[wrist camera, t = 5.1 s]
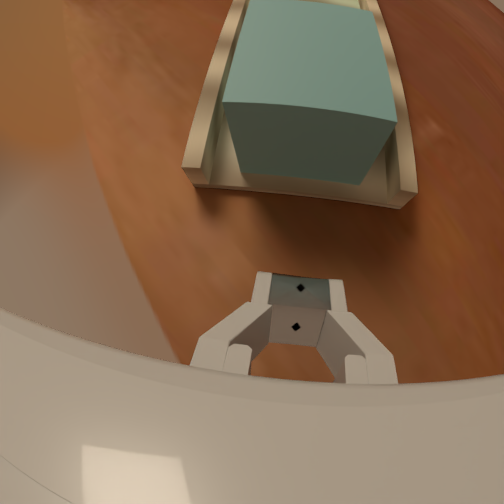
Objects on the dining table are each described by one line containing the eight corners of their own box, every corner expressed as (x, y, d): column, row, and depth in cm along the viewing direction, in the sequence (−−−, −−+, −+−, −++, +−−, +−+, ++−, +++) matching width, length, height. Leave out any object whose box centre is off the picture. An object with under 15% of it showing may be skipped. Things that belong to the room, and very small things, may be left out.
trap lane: (399, 209, 19) (417, 193, 16) (194, 186, 20) (181, 167, 17) (356, -25, 26) (358, -41, 23) (256, -34, 27) (255, -50, 24)
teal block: (359, 185, 19) (397, 122, 11) (240, 172, 19) (222, 101, 12) (354, 79, 20) (372, 11, 13) (257, 69, 21) (250, -2, 14)
